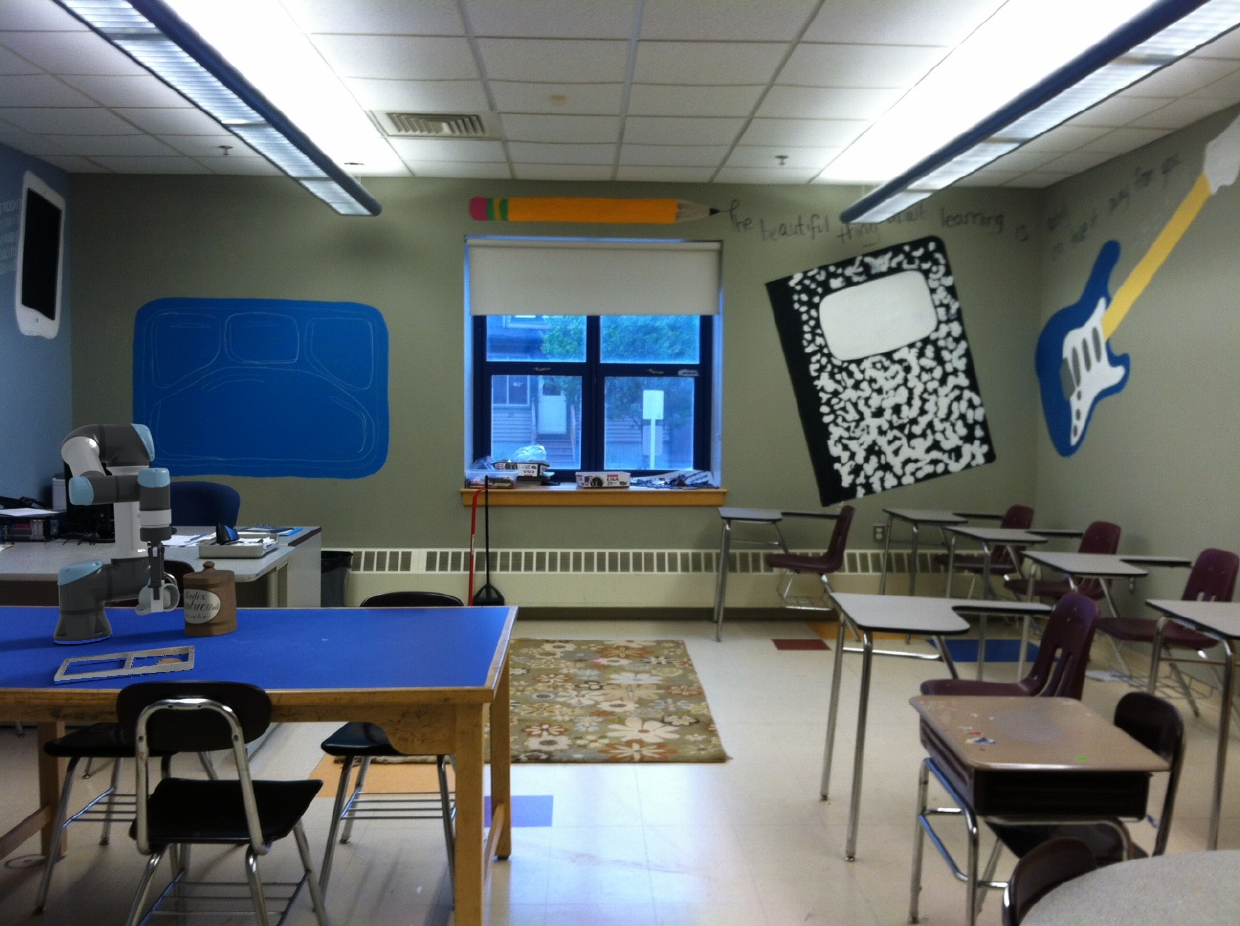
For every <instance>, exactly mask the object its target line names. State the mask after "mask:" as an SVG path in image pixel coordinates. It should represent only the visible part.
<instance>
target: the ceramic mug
mask: <svg viewBox="0 0 1240 926" xmlns="http://www.w3.org/2000/svg"><path fill="white" fill-rule="evenodd" d="M161 587H162V594H163V612H166V613H168V612H172V611H174V610H175V608H177V606H178V605H179V601H180V591H179V589H178V588H177V586H176V585H175V584H173V583H164V584H162V586H161ZM137 600H138V604H137V605H136V606H135V608H134V612H135V613H136V615H138V616H147V615H150V614H152V613H151V588H148V586H145V587H143V588H142V590H141V591H140V593H139V596H138V599H137ZM141 609H143V610H141Z"/></svg>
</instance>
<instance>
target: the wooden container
mask: <svg viewBox="0 0 1240 926" xmlns="http://www.w3.org/2000/svg"><path fill="white" fill-rule="evenodd" d="M215 565H216V563H215V562H214V561H212V560H207V561H205V562H203V563H202V568H203V569H201V571H194V572H189V573H185V574H183V576H182V583H183V584H182V586H183V616H184V619H183V620H184V634H185V635H186V636H188V637H194V636H196V637H198V638H199V637H200V638H201V637H202V638H204V637H206V636H207V637H213V636H214V637H215V636H220V635H221V636H223V635H226V634H229V633H233V632H234V631H236V630H237V629H238V614H237V612H238V611H237V609H238V608H237V597H236V596H237V595H236V594H237V593H236V583H235V582H236V581H235V580H236V578H235V577H236V576H235V571H233V570H230V569H216V568H215ZM196 637H195V638H196Z"/></svg>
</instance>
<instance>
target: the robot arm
mask: <svg viewBox="0 0 1240 926" xmlns="http://www.w3.org/2000/svg"><path fill="white" fill-rule="evenodd" d="M60 454H61V458H62V459H63V461H64V462H65V463H66V464H67V465H68V466H69V468H70V471H71V474H72V477H71V478H70V479H69V481H68V496H69V502H70V503H71V504H72V505H75V506H80V505H82V506H83V505H84V506H90V505H91V506H92V505H106V504H113V515H114V517H113V518H114V536H115V537H114V538H115V551H114V552H113V554H111V556H110V563H104V561H103V560H102V559H101V558H99V559H88V560H81V561H77V562H73V563H70V564H67V565H64V566H62V567H61V568H60V569H59V571H58V575H57V583H56V584H57V586H58V605H59V607H58V609H59V610H58V611H59V615H58V619H57V623H56V626H55V629H54V633H53V638H54V639H55V640H57V641H82V640H91V639H98V638H103V637H107V636H109V635H111V634H112V635H113V628H112V626H111V623H110V621H109V618H108V617H107V614H106V611H105V609H106V608H105V603H109V602H110V603H111V602H119V601H128V600H136V599H137V600H138V596H139V593H140V591H141V590H142V588H143V587H145V586H148V588H151V613H150V614H152V613H162V612H163V594H162V587H161V586H162V584H165V580H167V579H168V578H167V577H168V576H167V575H165V572H164V571H165V569H164V568H165V567H164V561H165V552H166V546H164V543H163V542H166V541H170V540H172V537H173V536H172V527H171V524H172V508H171V478H170V471H169V469H168V468H167V467H150V462H153V461H154V460H155V446H154V441H153V437H152V434H151V430H150V428H149V427H148V426H147V425H145V424H139V423H138V424H137V423H117V424H116V423H111V424H110V423H109V424H108V423H107V424H104V423H103V424H100V423H99V424H96V423H93V424H92V423H91V424H86V425H83V426H80V427H78V428H76V429H74V430H72V431H71V432H70V433H68V434H67V435H66V436H65V438H63V441H62V442H61V445H60ZM102 463H105V464H106V466H105V468H106V470H108V471H109V472H110V473H111V474H112V475H107V474H106V473H105V470H104V467H103V465H102ZM148 543H150V546H149V547H148Z"/></svg>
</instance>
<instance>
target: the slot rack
mask: <svg viewBox="0 0 1240 926" xmlns="http://www.w3.org/2000/svg"><path fill="white" fill-rule="evenodd" d="M194 652H195V644H192V645H182V646H173V647H165V648H164V647H163V648H155V649H145V650H144V649H143V650H136V651H135V650H133V651H125V652H115V653H106V654H98V655H97V654H95V655H86V656H76V657H68V658H67V657H66V658H64V660H63V662H62V663H61V665H60V667H59V669H58V670H57V672H56V673H55V675H54V677H53V681H60V680H70V679H81V678H92V677H107V676H117V675H128V674H129V675H130V674H142V673H156V672H166V673H171V672H170V671H175V672H182V670H184V671H191V670H190V669H193V668H194V666H195V653H196V652H195V653H194ZM187 653H189V654H187ZM179 654H182V655H188V659H187V661H182V660H181V659H179V658H161V659H162V661H160V660H159V661H158V662H159V663H156V664H157V665H155V664H154V665H151V666H142V667H140V666H134V667H133V664H132V662H133V663H134V661H133V659H134V657H147V656H163V657H167V656H166V655H173V656H179ZM164 655H165V656H164ZM117 658H127V660H126V661H124V662H125V663H124V666H123V668H114V669H107V670H97V671H90V672H89V671H88V672H79V673H71V674H70V673H69V674H66V675H63V674H64V672H65V670H66V668H67V666H68V665H69V663H70V662H77V661H87V660H88V661H89V660H105V659H106V660H107V659H117ZM131 665H132V668H131ZM193 670H194V669H193Z"/></svg>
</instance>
